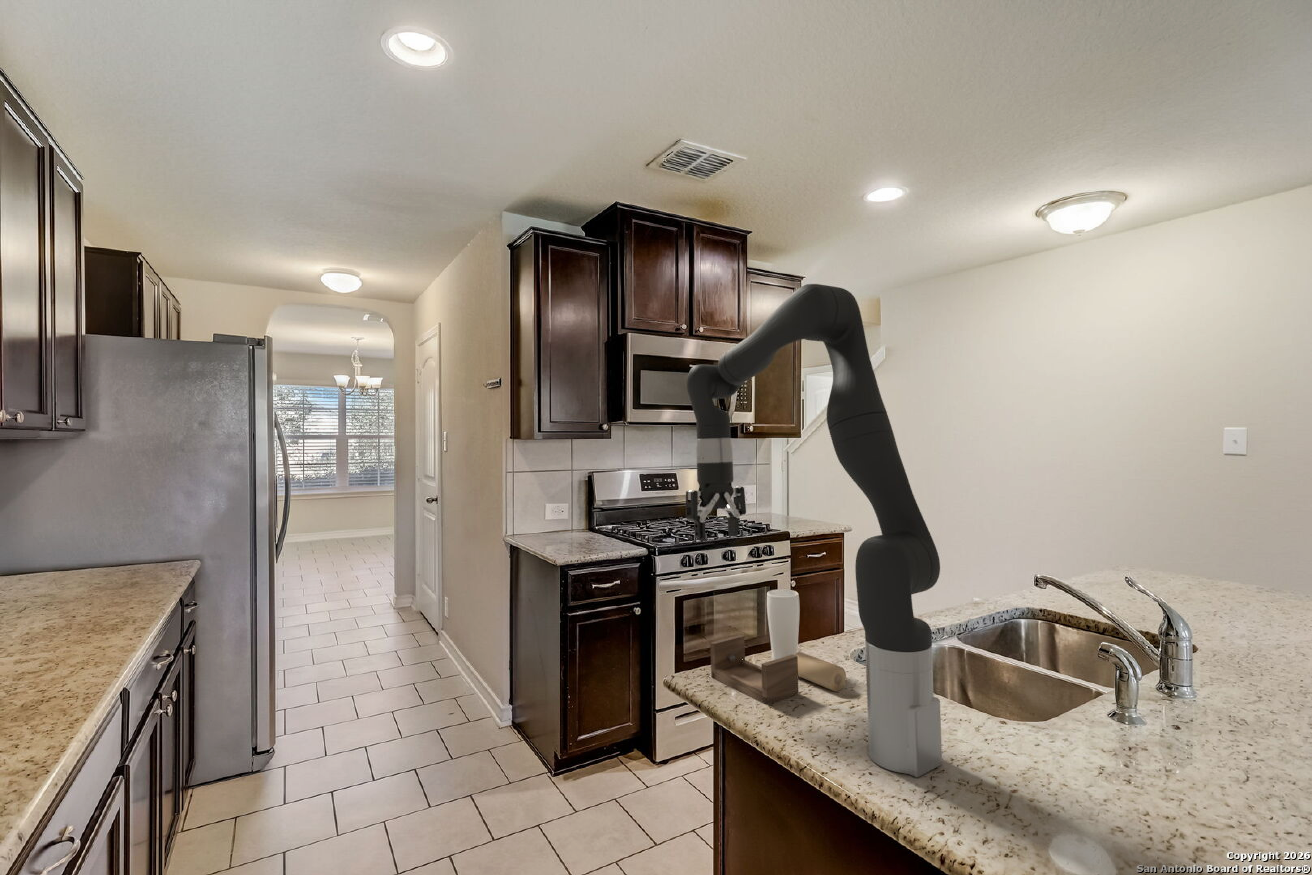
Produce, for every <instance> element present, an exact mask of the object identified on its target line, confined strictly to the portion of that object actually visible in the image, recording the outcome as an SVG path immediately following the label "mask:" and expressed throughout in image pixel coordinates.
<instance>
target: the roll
mask: <svg viewBox="0 0 1312 875" xmlns="http://www.w3.org/2000/svg"><path fill="white" fill-rule="evenodd" d="M795 655H796V656H798V678H802V679H805V680H806V681H809V682H811V683H813V684H816V685H818V686H821V687H824V688H826V689H829V690H830V691H834V692H838V691H841V690H842V689H843V688H844V686H845V685H846V681H847V680H846V679H847V671H846V670H845V669H844V668H843V667H842V666H839V665H837V664H835V663H832V662H829V661H826V660H824V659H820V658H818V657H815V656H813V655H810V654H807V653H804V652H800V651H799V652H797V653H796V654H795ZM840 689H841V690H840ZM837 690H838V691H837Z"/></svg>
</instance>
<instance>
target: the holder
mask: <svg viewBox="0 0 1312 875" xmlns="http://www.w3.org/2000/svg"><path fill="white" fill-rule="evenodd" d="M709 645H710V670H711V671H710V672H711V675H710V676H711V678H713V679H714V680H717V681H719V682H720V683H722V684H725V685H727V686H729V687H731V688H733V689H735V690H736V691H739V692H740V693H743V694H744V695H747V696H749V697H751V698H753V697H754V698H753V699H754V700H757V701H759V702H761V701H762V702H761V703H763V702H764V703H763V704H765V705H771V704H772V702H773V703H776V702H779V701H781V700H784V698H785V699H788V698H789V697H790V698H791V697H792V696H793V697H794V696H795V695H796V696H797V695H799V694H798V693H799V688H800V687H799V676H798V656H796V655H789V656H786V657H783V658H779V659H776V660H773V661H772V660H770V661H766V662H763V663H761V665H760V666H759V665H757V664H755V663H752V662H750V661H748V660H746V654H745V653H746V650H745V648H746V647H745V635H743V634H739V635H734V636H730V637H726V638H723V639H719V640H715V641H711V642H710V643H709ZM742 659H743V660H742ZM787 697H788V698H787ZM775 701H776V702H775Z"/></svg>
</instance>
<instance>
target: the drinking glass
mask: <svg viewBox="0 0 1312 875" xmlns="http://www.w3.org/2000/svg"><path fill="white" fill-rule="evenodd" d="M766 611H767V612H766V613H767V624H768V630H769V640H770V649H771V650H770V651H771V661H773V660H776V659H779V658H783V657H786V656H789V655H795V654H796V653H798V648H799V629H800V628H799V627H800V611H801V609H800V596H799V593H798V592H797V591H796V590H793V589H792V590H791V589H783V588H782V589H771V590H769V591H767V593H766Z"/></svg>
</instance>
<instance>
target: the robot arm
mask: <svg viewBox="0 0 1312 875" xmlns="http://www.w3.org/2000/svg"><path fill="white" fill-rule="evenodd" d="M865 334H866V333H865V328H864V324H863V319H862V313H861V310H860V307H859V304H858V301H857V299H856V297H855V295H853V293H852V292H851V291H848V290H847V289H845V288H843V287H838V286H831V285H825V284H819V283H807V284H805V285H801V286H800V287H798V288H797V289H796V290H795V291H793V292H792V293H790V295H789V296H788V297H787V298H786V299H785V300H784V301H783V302H782V303H781V304H780V305H779V306H778V307H777V308H776V309H775V311H773V312H772V313H771V314H770V315H769V316H768V317H767V318H766V319H765V320H764V321H763V322H762V323H761V324H760V325H759V326H758V327H757V328H756V329H755V330H754V331H753V332H752V333H750V334H749V335H748V336H747V337H745V338H744V339H743V340H741V341H740V342H738V343H737V344H735V345H734V346H733V347H731V348H729V349H728V350H727V351H725V352H724V353H722V355H721V356H720V358H719V359H718V362H717V365H716V364H696V365H694V366H693V367H691V368H690V370H689V372H688V374H687V377H686V390H687V393H688V397H689V400H690V404H691V407H692V411H693V414H694V417H695V420H696V448H695V451H696V455H695V457H696V477H697V478H696V481H697V483H698V490H695V489H693V490H692V489H688V490H685V519H686V520H689V521H692V522H693V524H694V537H695V538H696V541H700V542H704V541H706V538H707V536H706V535H707V534H706V522H705V520H706V518H707V516H708V515H709V514H710V513H711V512H712V510H713V511H714V510H715V511H717V510H718V509H721V510H722V511H724V512H725V513H726V515H727V516H728V517H729V518H727V527H728V528H727V531H728V533H727V534H728V536H730V537H738V534H739V532H740V531H739V530H740V529H739V528H740V526H739V518H740V517H741V516H743V515H746V514H747V505H746V504H747V502H746V493H745V487H744V486H740V485H737V486H736V485H735V486H734V485H733V486H732V483H733V482H734V459H733V457H734V456H733V446H732V445H733V444H732V437H731V416H730V414H729V413H728V412H727V411H726V410H722V409H720V408H717V407H716V405H715V403H714V400H715V399H717V400H718V399H721V400H722V399H727V398H729V397H731V396H734V395H735V394H736V393H737V392H738V390H740V388H741V387H742V386H743V385H744V383H745V382H747V381H748V380H751V379H752V378H753V377H755V376H757V375H759V374H760V373H762V372H763V371H765V370H766V369H767V368H768V367H769V366H770V364H772V361H773V360H774V359H775V356H776V354H777V352H778V351H779V350H780V349H782V348H783V347H785V346H787V345H789V344H792V343H795V342H798V341H802V340H805V341H811V342H813V341H814V342H821V343H822V342H823V344H824V345H825V349H826V351H827V354H828V357H829V360H830V363H831V368H832V385H831V389H830V394H829V398H828V402H827V407H826V423H827V428H828V430H829V435H830V439H831V442H832V445H833V450H834V452H835V455H836V457H837V460H838V462H839V464H840V465H841V466H842V467H843V469H844V471H845V472H846V473H847V474H848V475H849V477H850V478H851V480H852V481H853V482H854V483H855V484H856V486H857V487H858V488H859V489H860V490H861V491H862V493H863V494H864V495H865V496H866V498H867V499H868V501H869V503H870V504H871V506H872V509H873V510H874V513H875V516H876V519H877V522H878V524H879V529H880V531H881V534H880V535H875V536H871V537H867V539H865V540H864V541H863V542H862V543H860V546H858V549H857V553H856V556H855V568H854V569H855V584H856V585H855V586H856V596H857V608H858V615H859V618H860V622H861V624H862V627H863V629H864V636H865V637H864V638H865V639H864V640H865V643H864V644H865V647H864V648H865V676H866V677H865V680H866V701H867V702H866V707H867V709H866V710H867V712H866V713H867V734H868V735H867V736H868V738H867V739H868V755H869V757H870V759H871V760H872V761H873V762H874V763H875V764H877V765H878V766H879V767H881V768H883V769H886V770H889V771H892V772H895V773H899V774H906V775H910V776H913V777H915V778H919V777H921V776H923V775H925V774H927V773H928V772H931V771H932V770H934V769H936V768H937V767H939V766H941V765H942V764H943V754H942V748H943V747H942V725H941V724H942V723H941V722H942V721H941V719H942V718H941V716H942V715H941V701H940V699H939V697H936V696H934V674H933V671H934V670H933V669H934V668H933V665H934V664H933V637H932V629H931V626H930V625H929V623H927V622H926V621H925V620H922V619H921V618H918V617H915V615H914V609H913V599H912V595H915V594H918V593H923V592H927V591H928V590H929V589H932V588H933V587H934V586H935V585H936V584H937V582H938V580H939V578H940V574H941V561H940V556H939V553H938V549H937V547H936V544H935V542H934V539H933V537H932V534H931V532H930V531H929V528H928V525H927V524H926V520H925V519H924V517H923V514H922V512H921V509H920V508H919V505H918V503H917V500H916V498H915V495H914V493H913V490H912V487H911V485H910V482H909V478H908V475H907V473H906V469H905V466H904V463H903V461H902V458H901V455H900V452H899V449H898V445H897V441H896V438H895V434H894V431H893V427H892V424H891V420H890V417H889V415H888V411H887V409H886V405H885V404H884V401H883V398H882V396H881V391H880V387H879V384H878V382H877V378H876V375H875V371H874V368H873V364H872V361H871V358H870V353H869V347H868V343H867V338H866V335H865ZM713 399H714V400H713ZM732 498H733V499H732Z"/></svg>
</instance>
